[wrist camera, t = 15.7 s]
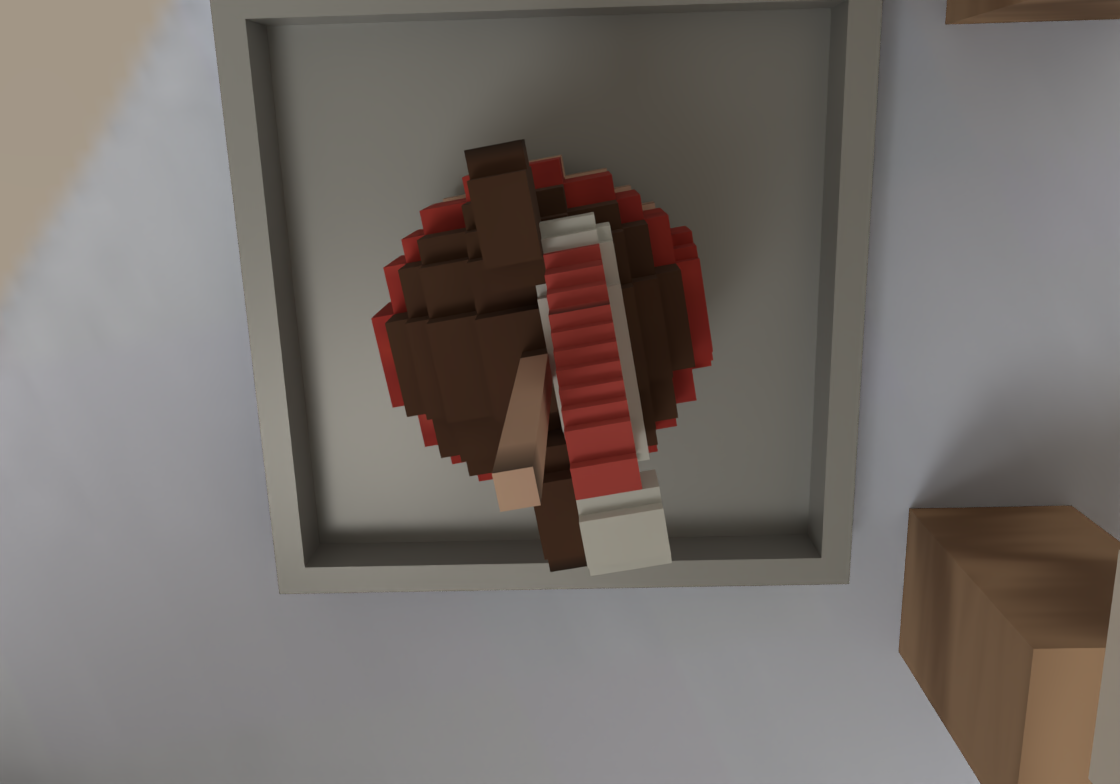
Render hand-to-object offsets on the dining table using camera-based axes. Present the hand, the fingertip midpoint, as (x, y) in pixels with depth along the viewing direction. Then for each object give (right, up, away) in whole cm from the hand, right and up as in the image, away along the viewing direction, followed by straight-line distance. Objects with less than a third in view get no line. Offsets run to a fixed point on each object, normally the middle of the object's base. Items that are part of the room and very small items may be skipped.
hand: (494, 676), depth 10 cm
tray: (+1, +7, +23) cm, 24 cm away
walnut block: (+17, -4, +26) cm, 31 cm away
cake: (0, +6, +23) cm, 23 cm away
